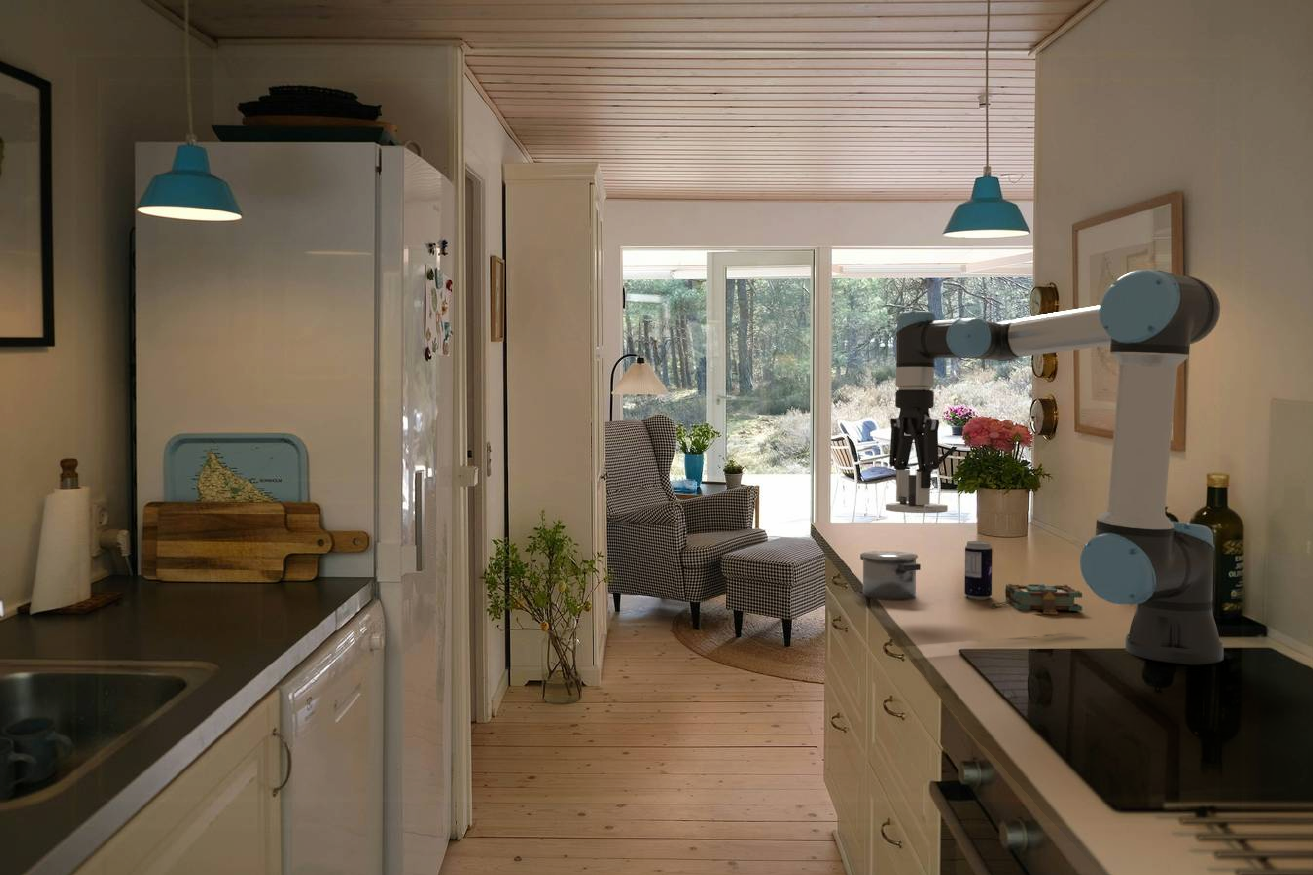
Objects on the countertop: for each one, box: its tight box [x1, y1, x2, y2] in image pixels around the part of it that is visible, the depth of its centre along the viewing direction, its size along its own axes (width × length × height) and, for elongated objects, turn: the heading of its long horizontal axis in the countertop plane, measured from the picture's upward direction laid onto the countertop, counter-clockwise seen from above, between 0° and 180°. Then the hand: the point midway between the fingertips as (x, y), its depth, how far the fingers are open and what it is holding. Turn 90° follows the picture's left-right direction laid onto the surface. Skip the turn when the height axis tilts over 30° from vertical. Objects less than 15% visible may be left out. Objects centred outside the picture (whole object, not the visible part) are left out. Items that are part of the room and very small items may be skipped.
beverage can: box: [963, 540, 994, 601], centre depth 219 cm, size 6×6×12 cm
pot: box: [859, 550, 922, 602], centre depth 221 cm, size 12×17×9 cm
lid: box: [885, 474, 949, 514], centre depth 205 cm, size 12×12×7 cm
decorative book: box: [988, 582, 1083, 615], centre depth 210 cm, size 13×18×5 cm
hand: (912, 502), depth 206 cm, fingers closed on lid, 6 cm apart
